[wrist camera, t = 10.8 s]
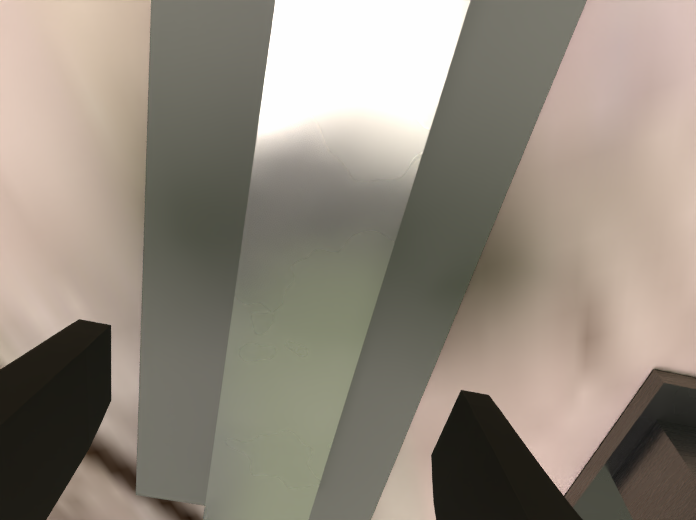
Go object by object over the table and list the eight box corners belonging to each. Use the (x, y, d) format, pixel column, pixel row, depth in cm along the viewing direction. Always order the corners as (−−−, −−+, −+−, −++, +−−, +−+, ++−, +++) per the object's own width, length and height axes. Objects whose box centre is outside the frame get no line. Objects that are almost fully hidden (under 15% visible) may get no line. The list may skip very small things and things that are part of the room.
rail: (301, 490, 19) (292, 577, 16) (218, 477, 18) (195, 563, 16) (462, -72, 10) (501, -88, 7) (310, -114, 10) (292, -147, 7)
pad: (366, 521, 20) (366, 530, 20) (139, 485, 19) (135, 494, 19) (645, -163, 10) (656, -167, 9) (169, -310, 9) (161, -321, 8)
